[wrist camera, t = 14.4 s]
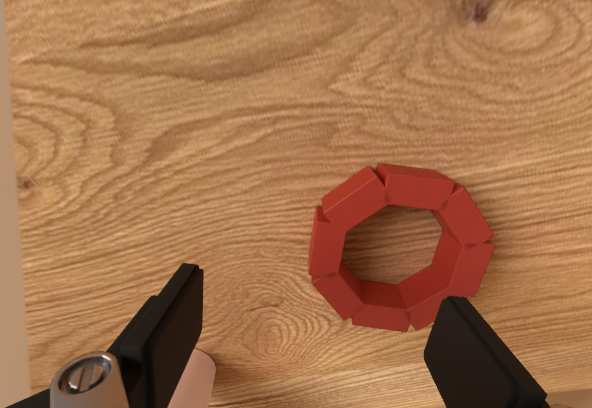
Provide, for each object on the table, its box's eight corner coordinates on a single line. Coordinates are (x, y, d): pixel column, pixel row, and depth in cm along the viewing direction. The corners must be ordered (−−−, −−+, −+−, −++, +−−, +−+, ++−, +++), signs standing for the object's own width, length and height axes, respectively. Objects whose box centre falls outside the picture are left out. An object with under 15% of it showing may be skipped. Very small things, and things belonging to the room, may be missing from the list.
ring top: (302, 293, 19) (301, 318, 17) (324, 155, 16) (326, 164, 14) (440, 311, 19) (458, 339, 17) (489, 177, 16) (518, 189, 14)
